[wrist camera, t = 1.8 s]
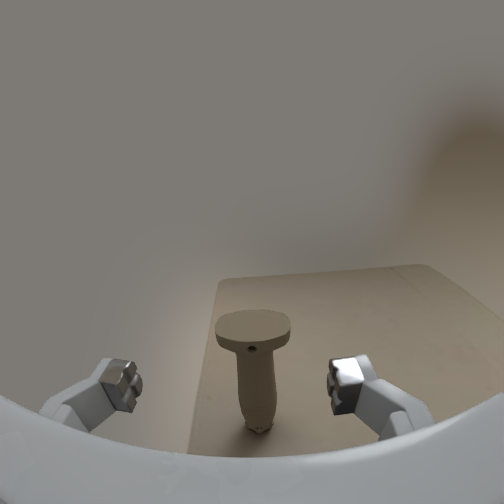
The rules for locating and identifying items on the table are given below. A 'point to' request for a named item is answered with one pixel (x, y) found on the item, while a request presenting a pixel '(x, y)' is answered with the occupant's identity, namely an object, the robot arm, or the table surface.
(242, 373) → the handle
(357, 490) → the robot arm
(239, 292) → the table surface
